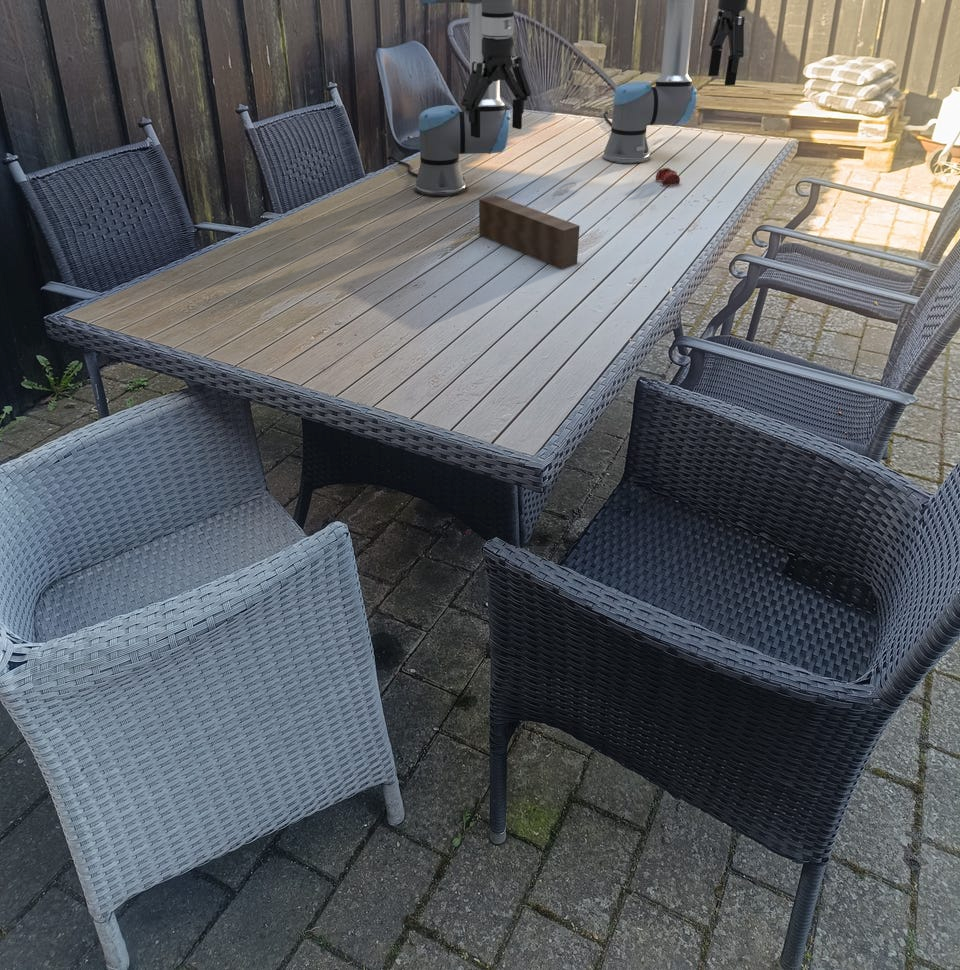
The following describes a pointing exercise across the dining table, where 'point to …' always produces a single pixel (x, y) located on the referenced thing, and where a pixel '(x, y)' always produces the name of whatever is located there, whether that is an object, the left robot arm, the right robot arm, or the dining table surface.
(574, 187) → the dining table surface
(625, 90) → the right robot arm
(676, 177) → the dark red rounded lump
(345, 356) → the dining table surface
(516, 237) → the bar
